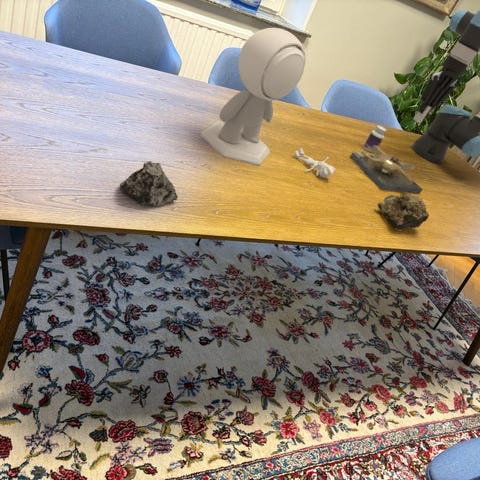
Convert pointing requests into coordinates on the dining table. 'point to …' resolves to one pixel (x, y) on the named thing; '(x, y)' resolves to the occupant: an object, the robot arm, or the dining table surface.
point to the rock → (149, 186)
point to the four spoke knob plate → (391, 165)
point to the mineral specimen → (404, 211)
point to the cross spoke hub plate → (383, 176)
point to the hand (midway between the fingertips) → (416, 121)
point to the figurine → (316, 164)
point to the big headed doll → (257, 94)
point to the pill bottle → (374, 138)
